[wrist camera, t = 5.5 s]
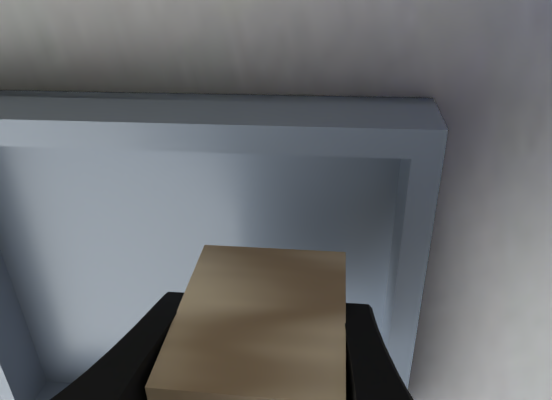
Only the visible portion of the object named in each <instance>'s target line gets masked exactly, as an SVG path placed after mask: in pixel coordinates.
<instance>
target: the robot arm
mask: <svg viewBox="0 0 552 400" xmlns="http://www.w3.org/2000/svg"><path fill="white" fill-rule="evenodd" d="M183 295H184V293H182V292H167V293H166V294H165V295H164V296H163V297H162V298H161V299H160V300H159V301H158V302H157V303H156V304H155V305H154V306H153V307H152V308H151V309H150V310H149V311H148V312H147V313H146V314H145V315H144V316H143V317H142V319H141V320H140V321H139V322H138V323H137V324H136V325H135V326H134V327H133V328H132V329H131V330H130V331H129V332H128V333H127V334H126V335H125V336H124V337H123V338H121V339H120V340H119V341H118V342H117V343H116V344H115V345H114V346H113V347H112V348H111V349H110V350H109V351H108V352H107V353H106V354H105V355H103V356H102V357H101V358H100V359H99V360H98V361H97V362H96V363H94V364H93V365H92V366H91V367H90V368H89V369H88V370H87V371H85V372H84V373H83V374H82V375H81V376H79V377H78V378H77V379H76V380H75V381H73V382H72V383H71V384H70V385H68V386H67V387H66V388H64V389H63V390H62V391H61V392H59V393H58V394H57V395H55V396H54V397H53V398H51V399H50V400H147V395H146V391H145V386H146V383H147V381H148V378H149V376H150V374H151V371H152V369H153V367H154V364H155V362H156V359H157V357H158V355H159V352H160V350H161V347H162V345H163V343H164V340H165V338H166V335H167V333H168V331H169V328H170V326H171V324H172V321H173V319H174V317H175V315H176V314H177V309H178V307H179V304H180V302H181V300H182V297H183ZM345 329H346V400H413V398H412V396H411V395H410V393H409V391H408V390H407V388H406V386H405V384H404V382H403V381H402V379H401V377H400V375H399V373H398V371H397V369H396V367H395V365H394V363H393V361H392V359H391V357H390V355H389V353H388V350H387V348H386V346H385V344H384V341H383V339H382V336H381V334H380V331H379V329H378V326H377V323H376V320H375V317H374V313H373V309H372V307H371V306H370V305H369V304H358V303H346V323H345Z"/></svg>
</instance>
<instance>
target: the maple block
mask: <svg viewBox="0 0 552 400" xmlns="http://www.w3.org/2000/svg"><path fill="white" fill-rule="evenodd" d="M345 323H346V252H335V251H316V250H296V249H277V248H258V247H238V246H219V245H204V247H203V250H202V252H201V254H200V257H199V259H198V261H197V264H196V266H195V269H194V271H193V273H192V276H191V278H190V281H189V283H188V285H187V288H186V290H185V293H184V295H183V297H182V300H181V302H180V304H179V307H178V309H177V314H176V315H175V317H174V319H173V321H172V324H171V326H170V328H169V331H168V333H167V335H166V338H165V340H164V343H163V345H162V347H161V350H160V352H159V355H158V357H157V359H156V362H155V364H154V367H153V369H152V371H151V374H150V376H149V378H148V381H147V383H146V386H145V391H146V395H147V400H346V329H345Z"/></svg>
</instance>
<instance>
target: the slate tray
mask: <svg viewBox="0 0 552 400" xmlns="http://www.w3.org/2000/svg"><path fill="white" fill-rule="evenodd" d="M447 136H448V128H447V126H446V124H445V122H444V120H443V118H442V115H441V113H440V111H439V109H438V107H437V105H436V103H435V101H434V98H410V97H353V96H296V95H239V94H182V93H125V92H67V91H10V90H0V400H50V399H51V398H53V397H54V396H55V395H57V394H58V393H59V392H61V391H62V390H63V389H64V388H66V387H67V386H68V385H70V384H71V383H72V382H73V381H75V380H76V379H77V378H78V377H79V376H81V375H82V374H83V373H84V372H85V371H87V370H88V369H89V368H90V367H91V366H92V365H93V364H94V363H96V362H97V361H98V360H99V359H100V358H101V357H102V356H103V355H105V354H106V353H107V352H108V351H109V350H110V349H111V348H112V347H113V346H114V345H115V344H116V343H117V342H118V341H119V340H120V339H121V338H123V337H124V336H125V335H126V334H127V333H128V332H129V331H130V330H131V329H132V328H133V327H134V326H135V325H136V324H137V323H138V322H139V321H140V320H141V319H142V317H143V316H144V315H145V314H146V313H147V312H148V311H149V310H150V309H151V308H152V307H153V306H154V305H155V304H156V303H157V302H158V301H159V300H160V299H161V298H162V297H163V296H164V295H165V294H166V293H167V292H182V293H185V290H186V288H187V285H188V283H189V281H190V278H191V276H192V273H193V271H194V269H195V266H196V264H197V261H198V259H199V257H200V254H201V252H202V250H203V247H204V245H219V246H238V247H258V248H277V249H296V250H316V251H335V252H346V303H358V304H369V305H370V306H371V307H372V309H373V313H374V317H375V320H376V323H377V326H378V329H379V331H380V334H381V336H382V339H383V341H384V344H385V346H386V348H387V350H388V353H389V355H390V357H391V359H392V361H393V363H394V365H395V367H396V369H397V371H398V373H399V375H400V377H401V379H402V381H403V382H404V384H405V386H406V388H407V390H408V385H409V378H410V372H411V366H412V359H413V353H414V346H415V340H416V334H417V327H418V321H419V315H420V308H421V302H422V295H423V289H424V283H425V276H426V270H427V264H428V257H429V251H430V245H431V238H432V232H433V225H434V219H435V213H436V206H437V200H438V194H439V187H440V181H441V174H442V168H443V162H444V155H445V149H446V143H447Z"/></svg>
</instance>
